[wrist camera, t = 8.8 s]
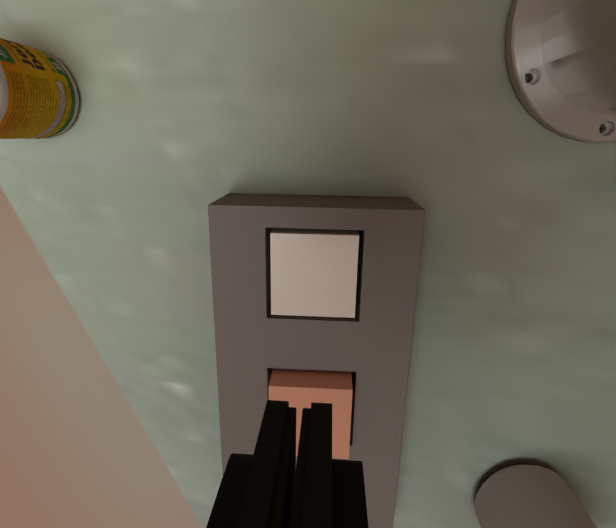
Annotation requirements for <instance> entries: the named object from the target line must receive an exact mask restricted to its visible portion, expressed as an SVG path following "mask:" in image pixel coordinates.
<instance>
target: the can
mask: <svg viewBox="0 0 616 528" xmlns="http://www.w3.org/2000/svg"><path fill="white" fill-rule="evenodd" d="M474 506H475V510H476V514H477V518H478V520H479V523H480V525H481V528H597V527H596V526H595V524H594V523H593V521H592V520H591V518H590V517H589V516H588V514H587V513H586V511H585V510H584V508H583V507H582V505H581V504H580V502H579V501H578V499H577V498H576V496H575V495H574V494H573V492H572V491H571V489H570V488H569V486H568V485H567V483H566V482H565V480H564V479H563V478H562V477H561V476H559V475H558V474H557V473H555V472H554V471H553V470H550V469H547V468H544V467H541V466H537V465H519V464H518V465H512V466H507V467H504V468H502V469H500V470H498V471H496V472H495V473H493V474H492V475H491V476H490V477H489V478H488V479H487V480H486V481H485V482H484V483H483V484H482V486H481V487H480V489H479V491H478V492H477V494H476V499H475V505H474Z"/></svg>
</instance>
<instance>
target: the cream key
mask: <svg viewBox="0 0 616 528" xmlns="http://www.w3.org/2000/svg"><path fill="white" fill-rule="evenodd" d="M358 249H359V233H358V230H338V229H302V228H273V230H272V231H271V233H270V258H271V315H293V316H320V317H347V318H355V304H356V285H357V267H358Z"/></svg>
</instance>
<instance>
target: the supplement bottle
mask: <svg viewBox="0 0 616 528" xmlns="http://www.w3.org/2000/svg"><path fill="white" fill-rule="evenodd" d="M78 108H79V96H78V90H77V87H76V85H75V82H74V80H73V78H72V76H71V75H70V73H69V71H68V70H67V69H66V68H65V66H64V65H63V64H62V63H61V62H60V61H59V60H58V59H56V58H55V57H53V56H52V55H50V54H48V53H46V52H43V51H41V50H38V49H35V48H31V47H28V46H25V45H21V44H18V43H15V42H12V41H8V40H5V39H2V38H0V139H16V138H27V139H32V138H36V139H40V138H51V137H54V136H57V135H60V134H62V133H63V132H65V131H66V130H67V129H69V128H70V127H71V125H72V124H73V122H74V121H75V119H76V116H77V113H78Z"/></svg>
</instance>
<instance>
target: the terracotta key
mask: <svg viewBox="0 0 616 528" xmlns="http://www.w3.org/2000/svg"><path fill="white" fill-rule="evenodd" d="M352 393H353V388H352V376H351V372H349V371H326V370H303V369H280V368H273V370H272V374H271V378H270V382H269V400H276V401H288V402H289V407H296V456H297V455H298V446H299V437H300V428H301V419H302V410H303V408H311V402H314V403H332V458H340V459H349V446H350V429H351V411H352Z"/></svg>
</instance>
